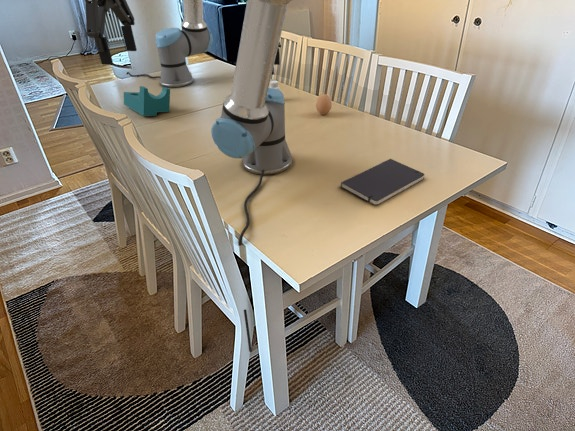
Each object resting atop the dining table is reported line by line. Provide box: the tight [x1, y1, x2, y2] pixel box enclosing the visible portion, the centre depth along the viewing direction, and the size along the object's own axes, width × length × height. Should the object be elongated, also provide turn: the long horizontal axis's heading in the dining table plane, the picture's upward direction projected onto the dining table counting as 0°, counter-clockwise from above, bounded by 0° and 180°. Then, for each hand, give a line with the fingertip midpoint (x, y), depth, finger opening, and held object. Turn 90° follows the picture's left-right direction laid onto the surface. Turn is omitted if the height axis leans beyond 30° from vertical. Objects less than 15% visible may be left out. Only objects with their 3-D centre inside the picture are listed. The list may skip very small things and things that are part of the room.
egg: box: [315, 93, 333, 116], centre depth 155 cm, size 6×6×8 cm
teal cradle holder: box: [123, 85, 171, 117], centre depth 163 cm, size 18×11×10 cm, turn 43°
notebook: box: [340, 158, 425, 206], centre depth 114 cm, size 13×2×21 cm
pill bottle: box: [269, 80, 281, 91], centre depth 169 cm, size 4×4×8 cm
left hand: (273, 69), depth 164 cm, fingers open, 13 cm apart
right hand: (120, 57), depth 110 cm, fingers open, 13 cm apart
